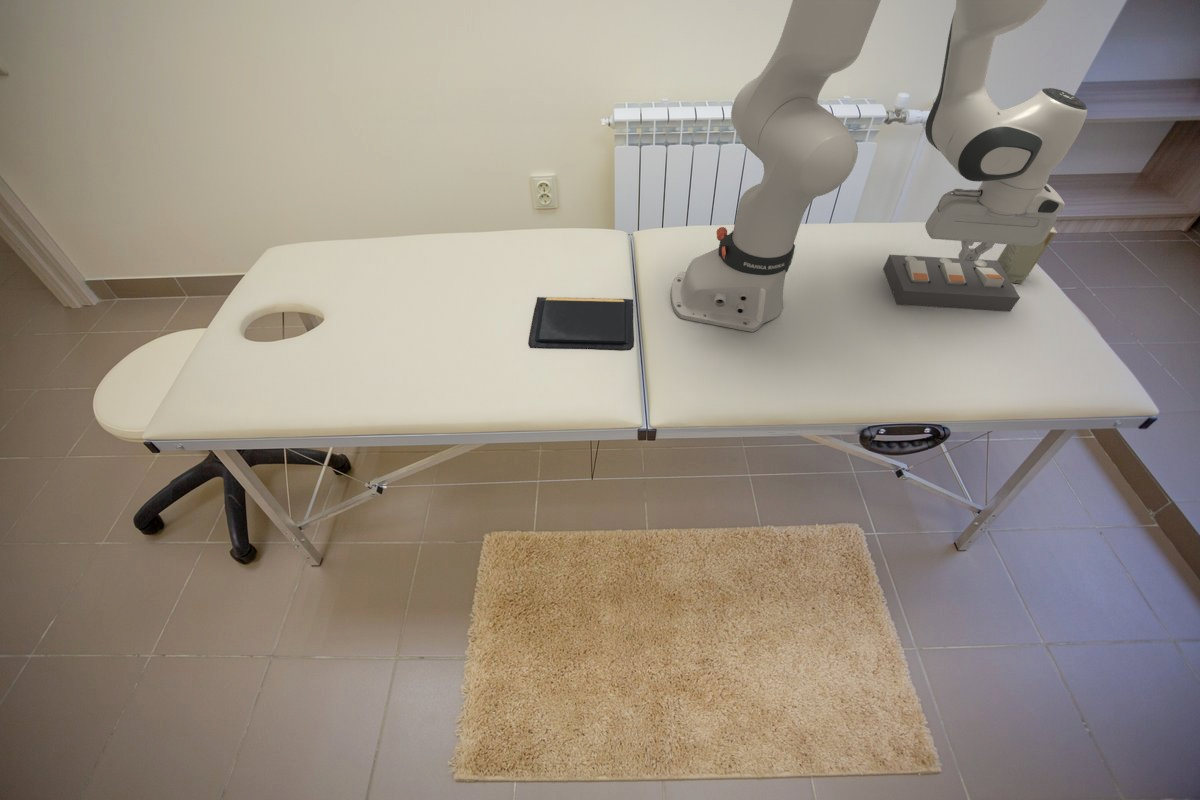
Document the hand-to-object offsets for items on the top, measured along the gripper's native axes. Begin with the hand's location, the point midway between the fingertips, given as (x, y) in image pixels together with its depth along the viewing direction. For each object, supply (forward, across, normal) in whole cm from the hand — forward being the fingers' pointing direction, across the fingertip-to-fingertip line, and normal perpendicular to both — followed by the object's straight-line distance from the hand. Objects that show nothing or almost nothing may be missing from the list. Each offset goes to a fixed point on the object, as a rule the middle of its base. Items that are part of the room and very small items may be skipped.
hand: (966, 258), depth 109 cm
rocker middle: (+5, 0, +2) cm, 6 cm away
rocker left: (+6, -6, +2) cm, 9 cm away
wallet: (+11, -73, -15) cm, 75 cm away
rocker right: (+5, +8, +2) cm, 9 cm away
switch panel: (+9, +1, +2) cm, 9 cm away
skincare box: (+9, +16, +9) cm, 20 cm away
